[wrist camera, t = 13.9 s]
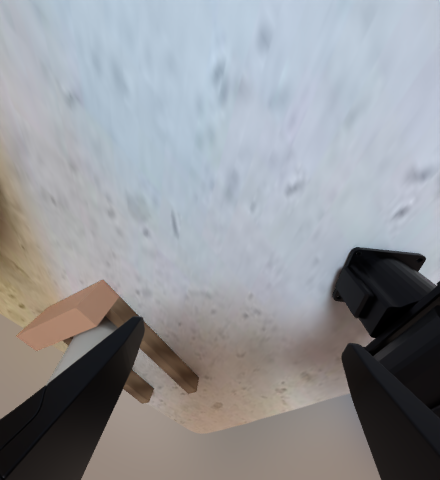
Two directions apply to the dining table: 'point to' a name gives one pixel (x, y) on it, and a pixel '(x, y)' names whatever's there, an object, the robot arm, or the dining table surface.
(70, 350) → the salt shaker
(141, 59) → the dining table surface
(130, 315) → the guide rails
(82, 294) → the end stop
